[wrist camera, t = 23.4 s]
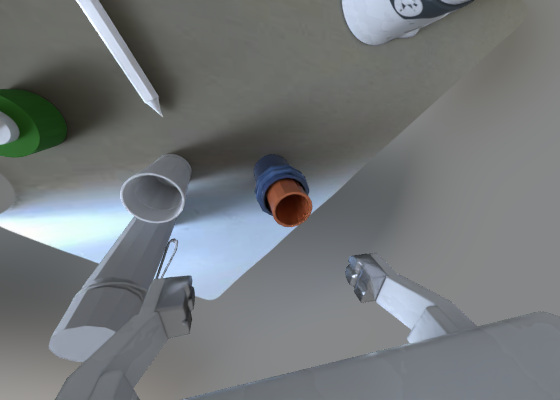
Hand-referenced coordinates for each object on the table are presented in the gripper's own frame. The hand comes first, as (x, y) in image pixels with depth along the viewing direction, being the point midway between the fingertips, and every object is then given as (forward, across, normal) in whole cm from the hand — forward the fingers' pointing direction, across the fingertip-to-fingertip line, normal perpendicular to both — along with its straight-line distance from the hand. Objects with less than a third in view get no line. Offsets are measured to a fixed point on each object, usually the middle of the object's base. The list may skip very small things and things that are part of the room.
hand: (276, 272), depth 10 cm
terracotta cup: (+27, -6, +7) cm, 29 cm away
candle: (+33, +31, -2) cm, 46 cm away
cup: (+33, +13, +6) cm, 36 cm away
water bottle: (+33, +17, +17) cm, 41 cm away
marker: (+33, +16, -10) cm, 38 cm away
